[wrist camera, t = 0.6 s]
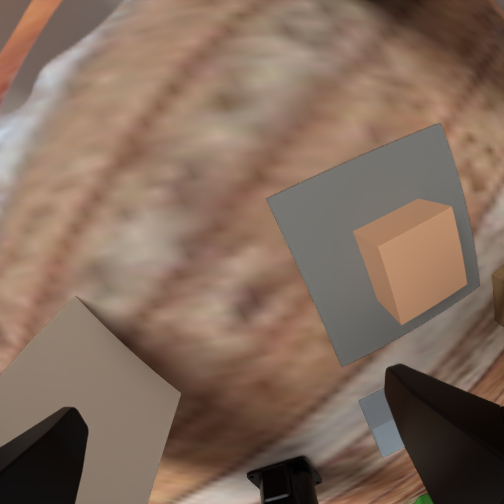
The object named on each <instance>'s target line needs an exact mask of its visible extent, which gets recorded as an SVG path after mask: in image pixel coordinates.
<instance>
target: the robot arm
mask: <svg viewBox="0 0 504 504" xmlns="http://www.w3.org/2000/svg"><path fill="white" fill-rule="evenodd" d="M384 393H385V398H386V400H387V403H388V405H389V408H390V411H391V413H392V416H393V419H394V421H395V424H396V427H397V430H398V432H399V435H400V437H401V440H402V442H403V444H404V446H405V448H406V450H407V452H408V454H409V456H410V458H411V460H412V462H413V464H414V466H415V468H416V470H417V472H418V473H419V475H420V477H421V479H422V481H423V483H424V486H425V488H426V490H427V492H428V494H429V496H430V498H431V500H432V502H433V504H504V406H501V407H500V405H498V404H496V403H493V402H491V401H488V400H486V399H483V398H481V397H478V396H476V395H473V394H471V393H469V392H466V391H464V390H461V389H459V388H457V387H454V386H452V385H449V384H447V383H445V382H442V381H440V380H438V379H435V378H433V377H431V376H428V375H426V374H424V373H421V372H419V371H417V370H415V369H412V368H410V367H408V366H405V365H403V364H396V365H393V366H390V367H388V368H387V369H386V373H385V386H384ZM88 434H89V429H88V426H87V424H86V422H85V421H84V419H83V418H82V416H81V414H80V413H79V411H78V410H77V409H76V408H75V407H67V406H65V407H62V408H61V409H59V410H58V411H56V412H55V413H53V414H52V415H50V416H48V417H47V418H45V419H44V420H42V421H41V422H39V423H38V424H36V425H35V426H33V427H31V428H30V429H28V430H27V431H25V432H24V433H22V434H20V435H19V436H17V437H16V438H14V439H13V440H11V441H9V442H8V443H6V444H5V445H3V446H1V447H0V504H75V502H76V498H77V493H78V489H79V485H80V481H81V476H82V472H83V466H84V459H85V452H86V446H87V440H88ZM247 478H248V479H249V480H250V481H251V482H252V483H253V484H254V485H255V486H257V487H258V488H259V489H260V496H261V504H319V503H318V499H317V494H316V490H315V485H318V484H321V483H322V479H321V478H320V476H319V475H318V474H317V472H316V471H315V470H314V468H313V467H312V466H311V464H310V463H309V462H308V460H307V459H306V458H305V457H298V458H295V459H292V460H289V461H286V462H283V463H280V464H276V465H273V466H270V467H266V468H263V469H259V470H256V471H252V472H249V473H247Z"/></svg>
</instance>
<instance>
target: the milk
mask: <svg viewBox="0 0 504 504" xmlns="http://www.w3.org/2000/svg"><path fill="white" fill-rule="evenodd" d="M180 396H181V393H180V392H179V391H178V390H176V389H175V388H174V387H173V386H171V385H170V384H169V383H168V382H166V381H165V380H164V379H163V378H162V377H160V376H159V375H158V374H157V373H156V372H154V371H153V370H152V369H151V368H150V367H149V366H147V365H146V364H145V363H144V362H143V361H142V360H141V359H139V358H138V357H137V356H136V355H135V354H134V353H133V352H132V351H130V350H129V349H128V348H127V347H126V346H125V345H124V344H123V343H122V342H121V341H120V340H119V339H118V338H117V337H115V336H114V335H113V334H112V333H111V332H110V331H109V330H108V329H107V328H106V327H105V326H104V325H103V324H102V323H101V322H100V321H99V320H98V319H97V318H96V317H95V316H94V315H93V314H92V313H91V312H90V311H89V310H88V309H87V308H86V307H85V305H84V304H83V303H82V302H81V301H80V300H79V299H78V298H77V297H76V296H74V297H73V298H72V299H71V300H70V301H69V302H68V303H67V304H66V305H65V306H64V307H63V308H62V309H61V310H60V311H59V312H58V313H57V314H56V315H55V316H54V317H53V318H52V319H51V320H50V321H49V322H48V323H47V324H46V325H45V327H44V328H43V329H42V330H41V331H40V332H39V333H38V334H37V335H36V336H35V337H34V338H33V339H32V340H31V341H30V342H29V343H28V345H27V346H26V347H25V348H24V349H23V350H22V351H21V352H20V353H19V354H18V356H17V357H16V358H15V359H14V360H13V361H12V362H11V363H10V365H9V366H8V367H7V368H6V369H5V370H4V371H3V373H2V374H1V375H0V447H1V446H3V445H5V444H6V443H8V442H9V441H11V440H13V439H14V438H16V437H17V436H19V435H20V434H22V433H24V432H25V431H27V430H28V429H30V428H31V427H33V426H35V425H36V424H38V423H39V422H41V421H42V420H44V419H45V418H47V417H48V416H50V415H52V414H53V413H55V412H56V411H58V410H59V409H61V408H62V407H65V406H67V407H75V408H76V409H77V410H78V411H79V413H80V414H81V416H82V418H83V419H84V421H85V422H86V424H87V426H88V429H89V434H88V440H87V446H86V452H85V459H84V466H83V472H82V476H81V481H80V485H79V489H78V493H77V498H76V502H75V504H148V501H149V498H150V494H151V491H152V487H153V484H154V481H155V477H156V474H157V471H158V467H159V464H160V461H161V457H162V454H163V451H164V447H165V444H166V441H167V438H168V434H169V431H170V428H171V425H172V422H173V418H174V415H175V412H176V409H177V406H178V403H179V399H180Z"/></svg>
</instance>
